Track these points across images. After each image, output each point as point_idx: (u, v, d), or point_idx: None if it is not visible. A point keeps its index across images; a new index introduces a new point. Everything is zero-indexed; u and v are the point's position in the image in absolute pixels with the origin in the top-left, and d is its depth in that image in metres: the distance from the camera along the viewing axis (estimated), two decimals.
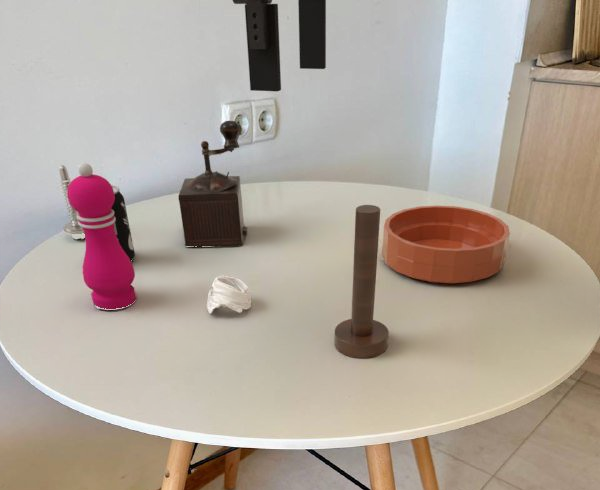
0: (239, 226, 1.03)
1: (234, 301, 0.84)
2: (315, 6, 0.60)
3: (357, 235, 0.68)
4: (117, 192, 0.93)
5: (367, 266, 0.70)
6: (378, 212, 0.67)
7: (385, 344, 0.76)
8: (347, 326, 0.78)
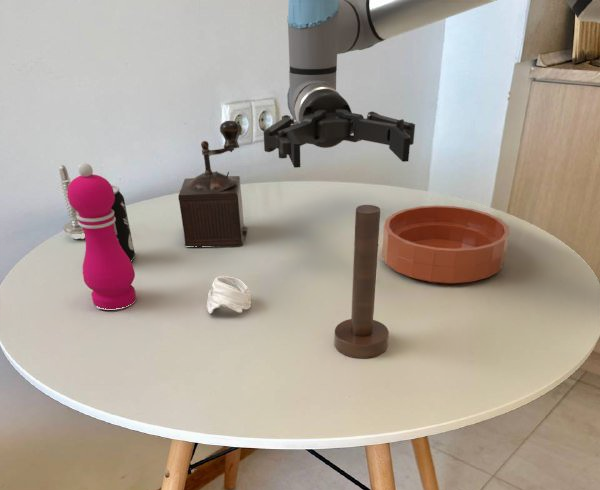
0: (239, 226, 1.03)
1: (234, 301, 0.84)
2: (391, 134, 0.77)
3: (357, 235, 0.68)
4: (117, 192, 0.93)
5: (367, 266, 0.70)
6: (378, 212, 0.67)
7: (385, 344, 0.76)
8: (347, 326, 0.78)
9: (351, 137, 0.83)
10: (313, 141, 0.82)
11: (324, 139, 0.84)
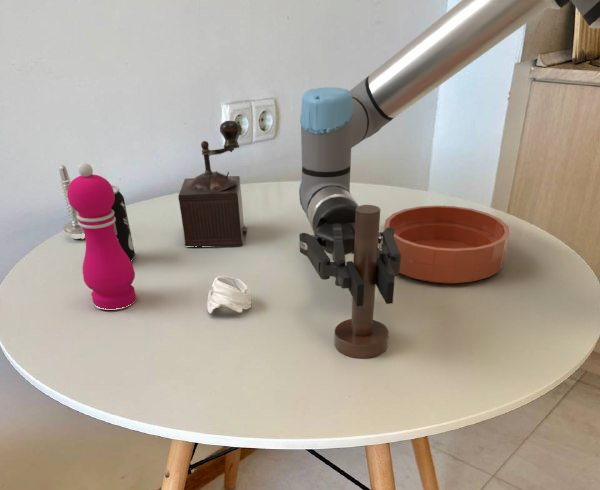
0: (239, 226, 1.03)
1: (234, 301, 0.84)
2: None
3: (357, 235, 0.68)
4: (117, 192, 0.93)
5: (367, 266, 0.70)
6: (378, 212, 0.67)
7: (385, 344, 0.76)
8: (347, 326, 0.78)
9: None
10: None
11: None
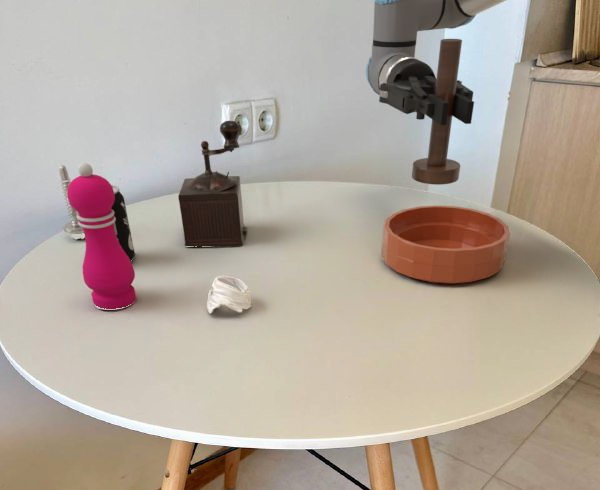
0: (239, 226, 1.03)
1: (234, 301, 0.84)
2: None
3: (441, 64, 0.80)
4: (117, 192, 0.93)
5: (448, 95, 0.82)
6: (460, 41, 0.78)
7: (458, 173, 0.88)
8: (423, 161, 0.90)
9: None
10: None
11: None
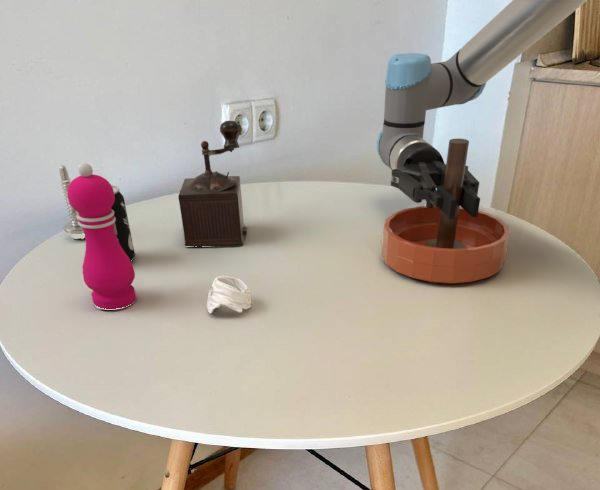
0: (239, 226, 1.03)
1: (234, 301, 0.84)
2: None
3: (449, 162, 0.86)
4: (117, 192, 0.93)
5: (455, 189, 0.88)
6: (468, 143, 0.85)
7: None
8: (432, 244, 0.96)
9: (439, 186, 0.98)
10: None
11: None
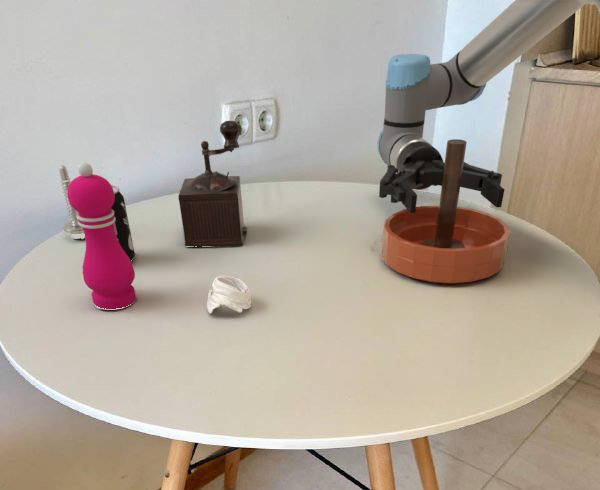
0: (239, 226, 1.03)
1: (234, 301, 0.84)
2: (484, 184, 0.94)
3: (447, 163, 0.88)
4: (117, 192, 0.93)
5: (453, 188, 0.90)
6: (465, 143, 0.87)
7: None
8: (430, 242, 0.98)
9: None
10: (414, 186, 0.99)
11: (421, 184, 1.02)
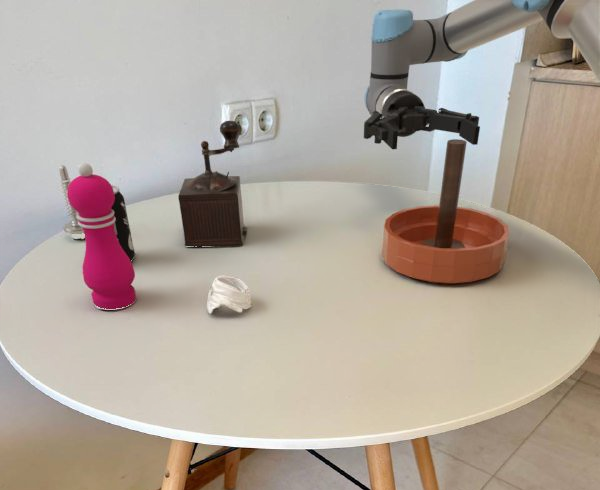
0: (239, 226, 1.03)
1: (234, 301, 0.84)
2: (462, 125, 1.00)
3: (447, 163, 0.88)
4: (117, 192, 0.93)
5: (453, 188, 0.90)
6: (465, 143, 0.87)
7: None
8: (430, 242, 0.98)
9: (426, 128, 1.07)
10: (397, 130, 1.05)
11: (404, 129, 1.08)
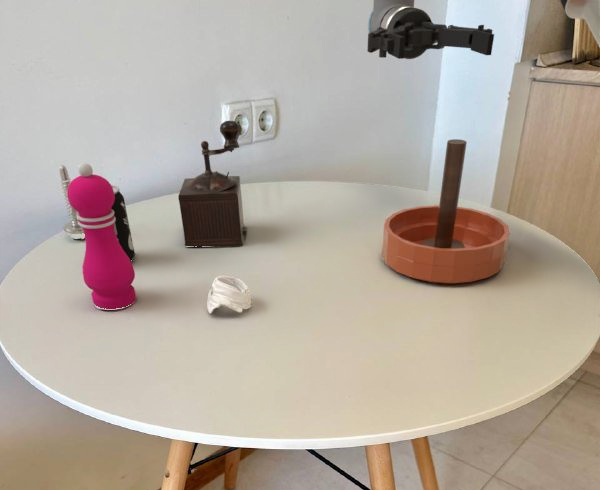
0: (239, 226, 1.03)
1: (234, 301, 0.84)
2: (474, 37, 0.93)
3: (447, 163, 0.88)
4: (117, 192, 0.93)
5: (453, 188, 0.90)
6: (465, 143, 0.87)
7: None
8: (430, 242, 0.98)
9: None
10: (404, 47, 0.98)
11: (411, 48, 1.00)
